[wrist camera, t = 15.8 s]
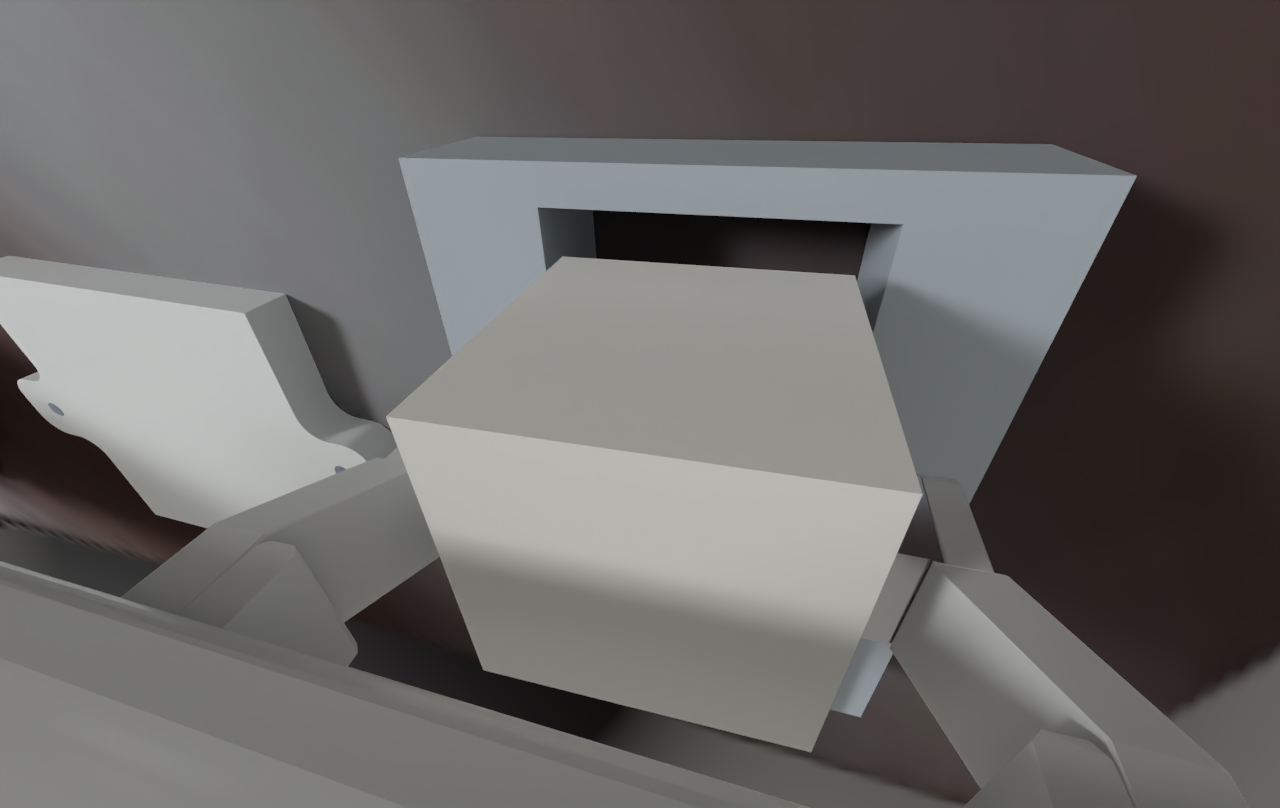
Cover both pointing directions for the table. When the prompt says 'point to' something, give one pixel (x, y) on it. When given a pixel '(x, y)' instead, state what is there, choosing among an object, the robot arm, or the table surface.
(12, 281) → the mounting plate
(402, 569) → the robot arm
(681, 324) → the white block
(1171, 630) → the table surface
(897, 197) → the socket
